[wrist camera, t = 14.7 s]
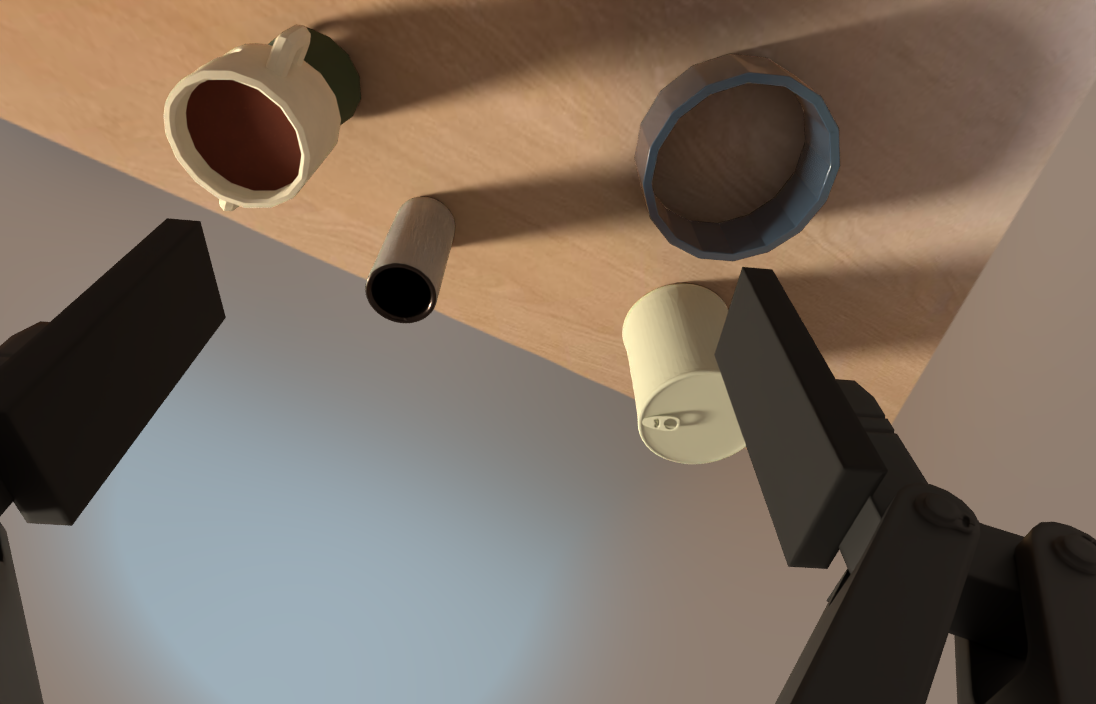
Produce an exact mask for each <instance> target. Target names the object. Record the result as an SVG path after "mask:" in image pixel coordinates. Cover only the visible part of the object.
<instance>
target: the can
mask: <svg viewBox="0 0 1096 704" xmlns="http://www.w3.org/2000/svg"><path fill="white" fill-rule="evenodd" d="M727 314H728V308H727V306H726V305H725V303H724V302H723V300H722V299H721V298H720V297H719V296H718V295H717V294H715V293H714V292H712V291H711V290H709V289H707V288H704V287H702V286H698V285H694V284H671V285H667V286H663V287H660V288H657V289H655V290H653V291H651V292H649V293H647V294H646V295H644V296H643V297H642V298H640V299H639V300H638V301H637V302H636V303H635V304H634V305H633V306H632V308H631V309H630V311H629V312H628V314H627V316H626V318H625V321H624V325H623V333H622V334H623V342H624V345H625V348H626V350H627V354H628V360H629V365H630V371H631V377H632V383H633V389H634V395H635V402H636V408H637V415H638V430H639V433H640V436H641V438H642V440H643V442H644V443H645V445H646V446H647V447H648V448H649V449H650V450H651V451H652V452H654V453H655V454H657V455H658V456H660V457H662V458H664V459H667V460H670V461H673V462H677V463H683V464H703V463H710V462H715V461H718V460H722V459H724V458H727V457H729V456H731V455H734V454H735V453H737V452H738V451H740V450H742V449H744V448H745V447H746V444H745V441H744V438H743V436H742V433H741V430H740V427H739V424H738V421H737V418H736V415H735V413H734V410H733V407H732V404H731V401H730V398H729V395H728V393H727V390H726V387H725V384H724V381H723V378H722V375H721V373H720V370H719V367H718V364H717V361H716V358H715V355H714V354H715V351H716V348H717V345H718V342H719V339H720V335H721V332H722V329H723V326H724V323H725V320H726V317H727Z"/></svg>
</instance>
